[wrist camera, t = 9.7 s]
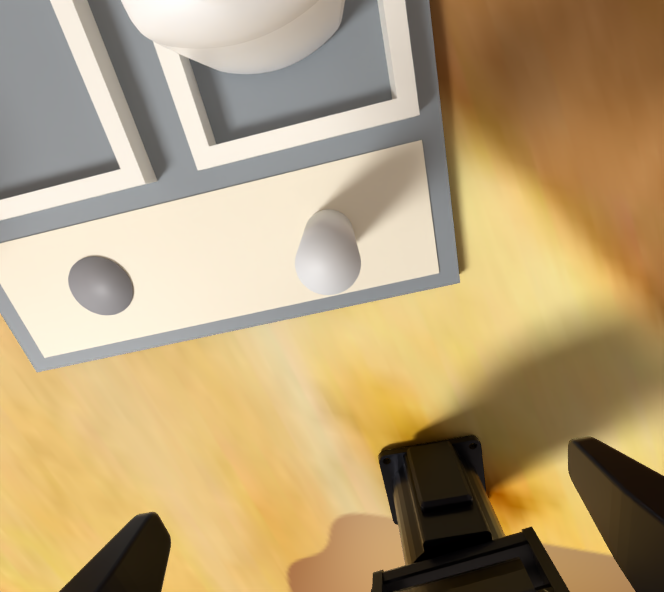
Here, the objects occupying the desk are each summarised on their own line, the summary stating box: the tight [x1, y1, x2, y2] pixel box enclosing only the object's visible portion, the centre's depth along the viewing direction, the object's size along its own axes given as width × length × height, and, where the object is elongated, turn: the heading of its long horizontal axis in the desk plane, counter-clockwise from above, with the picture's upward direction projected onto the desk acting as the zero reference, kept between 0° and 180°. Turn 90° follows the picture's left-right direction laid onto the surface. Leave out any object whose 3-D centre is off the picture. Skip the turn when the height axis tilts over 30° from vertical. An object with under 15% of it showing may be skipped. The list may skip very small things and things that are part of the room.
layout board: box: [0, 0, 460, 372], centre depth 15 cm, size 18×24×6 cm
